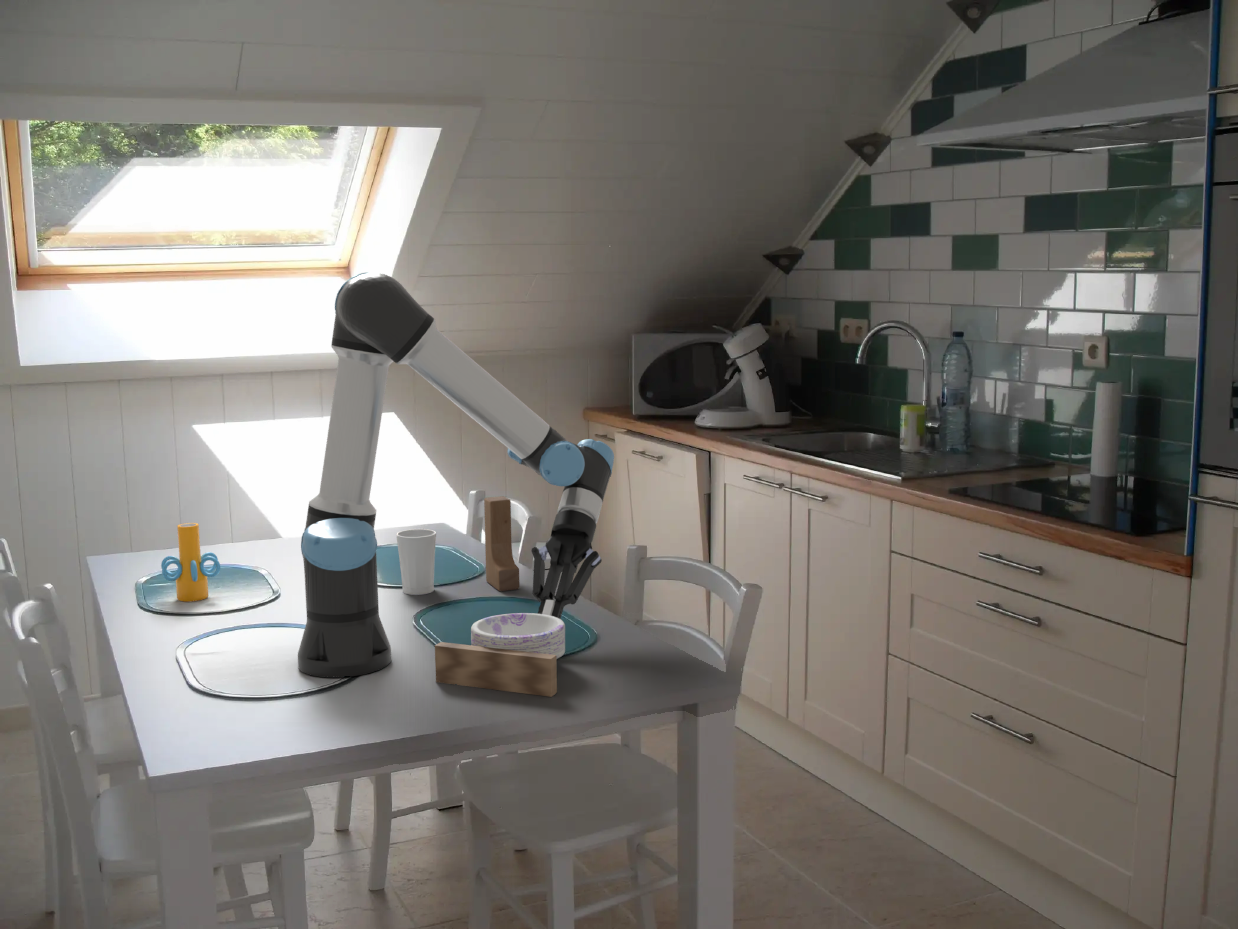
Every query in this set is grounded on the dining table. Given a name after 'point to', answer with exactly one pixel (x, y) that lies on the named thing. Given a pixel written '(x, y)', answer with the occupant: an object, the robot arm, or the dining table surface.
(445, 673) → the rail
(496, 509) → the wooden block
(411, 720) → the dining table surface
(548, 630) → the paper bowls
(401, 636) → the dining table surface
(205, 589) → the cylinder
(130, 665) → the dining table surface
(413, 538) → the cup
